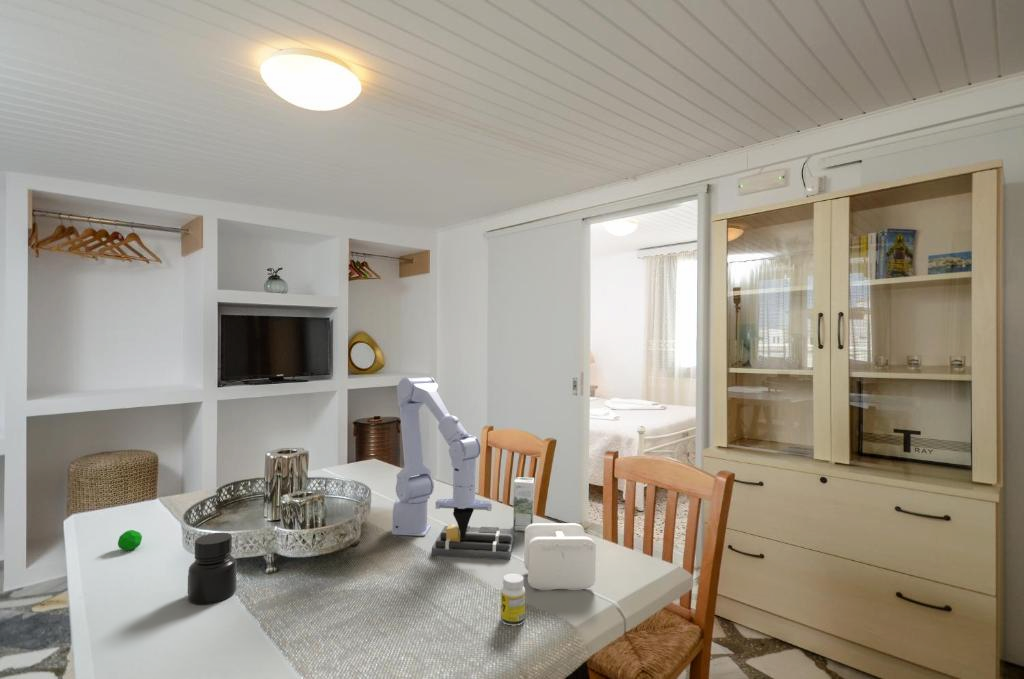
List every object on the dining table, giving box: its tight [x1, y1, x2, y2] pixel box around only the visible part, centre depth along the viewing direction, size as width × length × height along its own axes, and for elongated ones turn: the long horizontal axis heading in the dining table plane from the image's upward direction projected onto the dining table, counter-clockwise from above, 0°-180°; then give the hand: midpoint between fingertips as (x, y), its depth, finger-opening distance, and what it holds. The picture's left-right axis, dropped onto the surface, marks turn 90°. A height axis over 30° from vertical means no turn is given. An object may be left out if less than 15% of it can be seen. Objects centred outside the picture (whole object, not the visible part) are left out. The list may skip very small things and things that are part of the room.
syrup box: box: [512, 476, 535, 533], centre depth 153 cm, size 6×6×14 cm
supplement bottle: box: [500, 573, 526, 625], centre depth 102 cm, size 5×5×8 cm
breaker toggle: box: [446, 524, 460, 542], centre depth 136 cm, size 3×3×4 cm
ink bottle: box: [187, 532, 238, 605], centre depth 111 cm, size 10×9×12 cm
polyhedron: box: [117, 529, 143, 552], centre depth 134 cm, size 5×5×5 cm
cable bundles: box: [435, 530, 512, 552], centre depth 136 cm, size 19×10×2 cm, turn 85°
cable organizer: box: [523, 522, 597, 591], centre depth 120 cm, size 15×11×12 cm
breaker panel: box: [431, 525, 516, 561], centre depth 140 cm, size 20×16×3 cm
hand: (463, 536), depth 135 cm, fingers closed
